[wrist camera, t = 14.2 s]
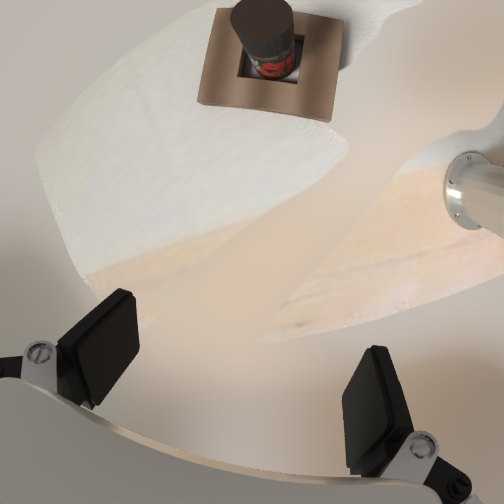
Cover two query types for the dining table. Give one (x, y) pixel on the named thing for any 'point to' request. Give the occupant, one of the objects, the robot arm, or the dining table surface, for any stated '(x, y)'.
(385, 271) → the dining table surface
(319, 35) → the socket board
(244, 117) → the dining table surface
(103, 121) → the dining table surface
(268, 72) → the deodorant
